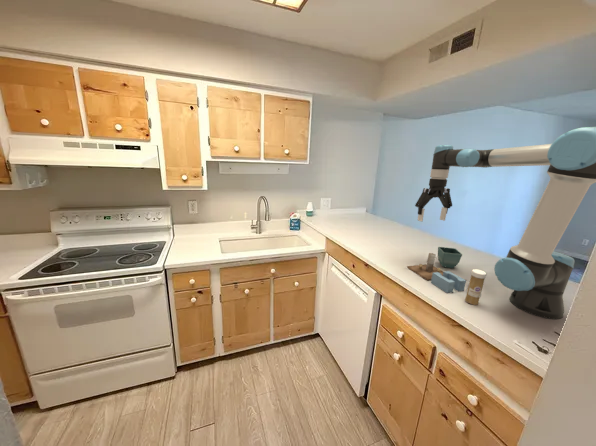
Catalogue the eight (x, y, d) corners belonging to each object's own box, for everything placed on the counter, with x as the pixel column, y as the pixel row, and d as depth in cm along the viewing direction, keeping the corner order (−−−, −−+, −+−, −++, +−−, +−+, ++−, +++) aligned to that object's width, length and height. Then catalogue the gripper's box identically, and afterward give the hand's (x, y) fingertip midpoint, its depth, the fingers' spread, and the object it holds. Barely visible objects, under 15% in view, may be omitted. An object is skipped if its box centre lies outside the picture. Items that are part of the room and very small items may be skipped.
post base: (451, 278, 115) (456, 258, 113) (427, 281, 112) (431, 261, 109) (429, 265, 128) (433, 248, 126) (407, 267, 125) (410, 249, 122)
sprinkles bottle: (469, 305, 94) (477, 274, 91) (462, 298, 99) (469, 268, 95) (481, 305, 94) (489, 274, 91) (473, 298, 99) (480, 268, 95)
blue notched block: (463, 290, 104) (466, 280, 103) (446, 293, 102) (449, 282, 101) (446, 280, 113) (448, 270, 112) (430, 282, 111) (432, 272, 109)
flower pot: (459, 270, 124) (462, 254, 121) (440, 268, 125) (443, 252, 123) (452, 263, 132) (455, 248, 130) (434, 261, 134) (437, 246, 131)
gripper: (452, 178, 124) (445, 218, 130) (411, 177, 118) (405, 219, 124) (465, 179, 117) (457, 221, 123) (422, 178, 111) (415, 223, 117)
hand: (431, 220), depth 123 cm, fingers open, 13 cm apart
